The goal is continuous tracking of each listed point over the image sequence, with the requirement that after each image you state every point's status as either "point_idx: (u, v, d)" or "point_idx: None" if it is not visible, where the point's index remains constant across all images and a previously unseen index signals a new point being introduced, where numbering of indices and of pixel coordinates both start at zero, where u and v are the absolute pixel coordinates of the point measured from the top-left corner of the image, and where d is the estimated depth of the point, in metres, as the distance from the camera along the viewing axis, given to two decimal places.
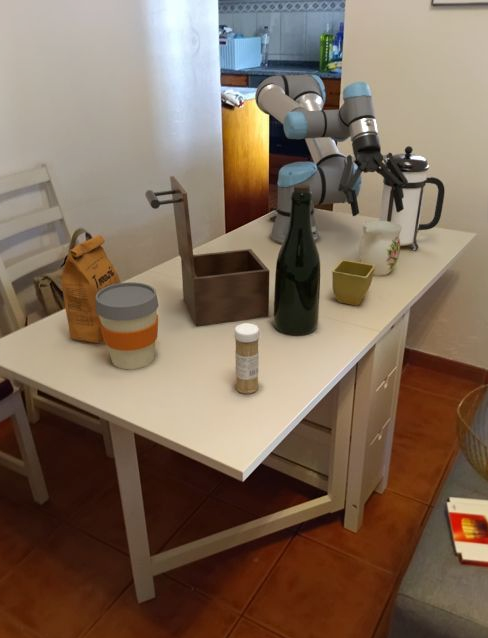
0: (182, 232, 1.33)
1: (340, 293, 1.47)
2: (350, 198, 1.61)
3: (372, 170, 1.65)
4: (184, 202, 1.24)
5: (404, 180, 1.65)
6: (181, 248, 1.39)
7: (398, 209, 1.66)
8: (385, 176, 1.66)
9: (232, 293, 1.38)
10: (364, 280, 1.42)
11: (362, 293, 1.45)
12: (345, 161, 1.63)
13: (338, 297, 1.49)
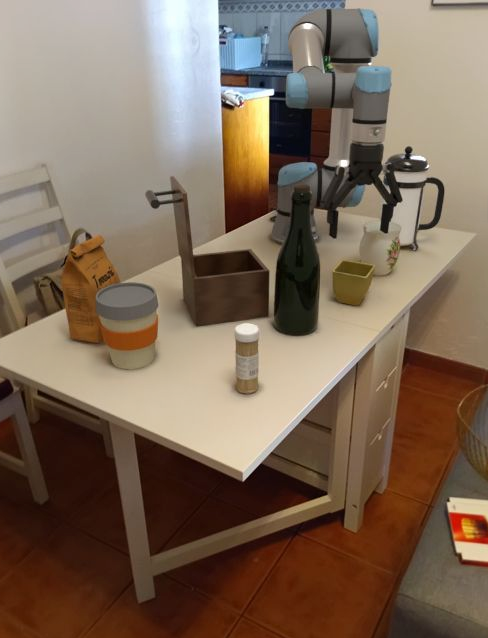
0: (182, 232, 1.33)
1: (340, 293, 1.47)
2: (331, 219, 1.38)
3: (365, 183, 1.37)
4: (184, 202, 1.24)
5: (398, 199, 1.40)
6: (181, 248, 1.39)
7: (382, 230, 1.44)
8: (378, 190, 1.39)
9: (232, 293, 1.38)
10: (364, 280, 1.42)
11: (362, 293, 1.45)
12: (336, 171, 1.34)
13: (338, 297, 1.49)
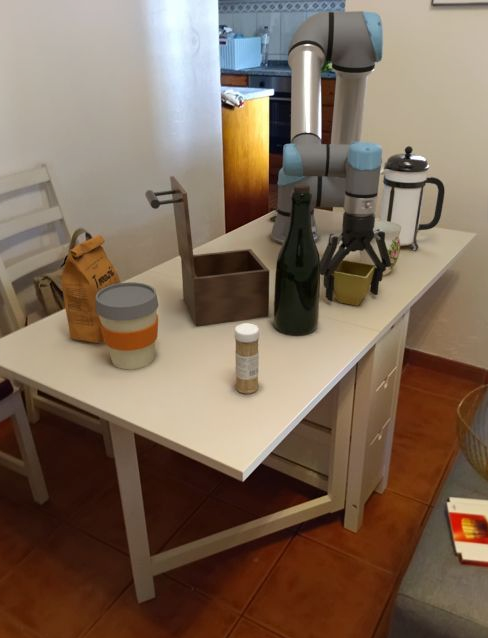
0: (182, 232, 1.33)
1: (340, 293, 1.47)
2: (327, 284, 1.46)
3: None
4: (184, 202, 1.24)
5: (387, 263, 1.48)
6: (181, 248, 1.39)
7: (372, 291, 1.52)
8: (369, 255, 1.47)
9: (232, 293, 1.38)
10: (364, 280, 1.42)
11: (362, 293, 1.45)
12: (330, 239, 1.41)
13: (338, 297, 1.49)
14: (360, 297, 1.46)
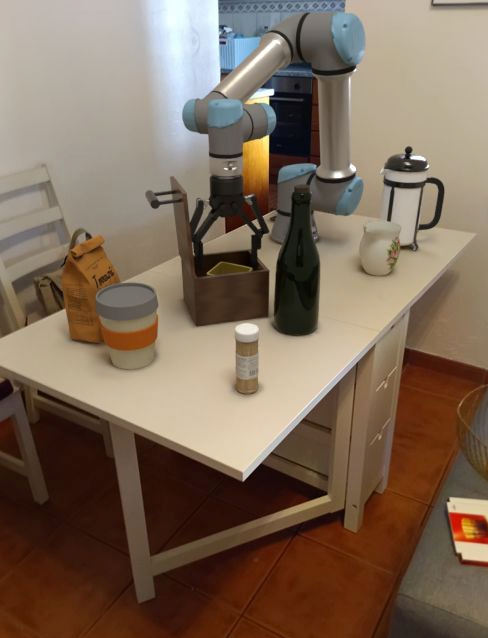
0: (182, 232, 1.33)
1: None
2: (196, 251, 1.37)
3: None
4: (184, 202, 1.24)
5: (265, 230, 1.39)
6: (181, 248, 1.39)
7: (252, 260, 1.44)
8: None
9: (232, 293, 1.38)
10: None
11: None
12: (196, 203, 1.33)
13: None
14: None
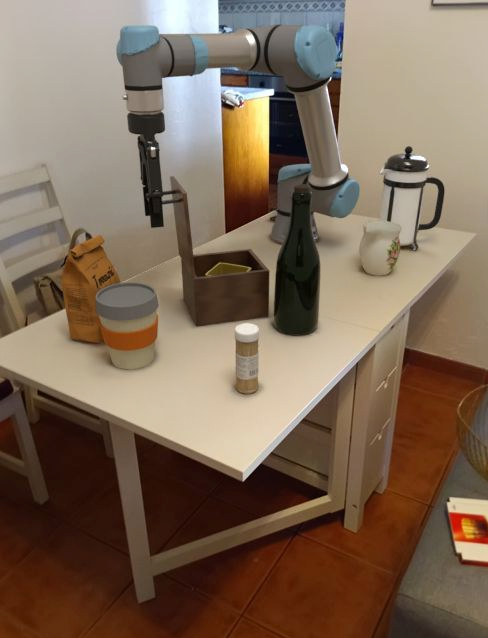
0: (182, 232, 1.33)
1: None
2: None
3: None
4: (184, 202, 1.24)
5: (150, 192, 1.22)
6: (181, 248, 1.39)
7: None
8: None
9: (232, 293, 1.38)
10: None
11: None
12: None
13: None
14: None
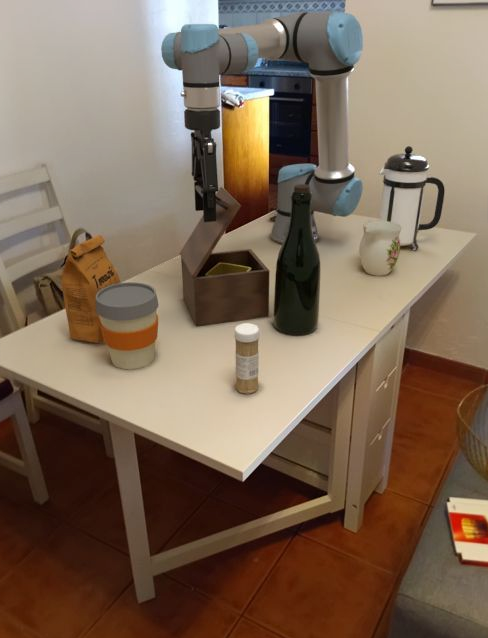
0: (206, 235, 1.35)
1: None
2: None
3: None
4: (233, 211, 1.28)
5: (205, 186, 1.24)
6: (190, 248, 1.40)
7: None
8: None
9: (232, 293, 1.38)
10: None
11: None
12: None
13: None
14: None
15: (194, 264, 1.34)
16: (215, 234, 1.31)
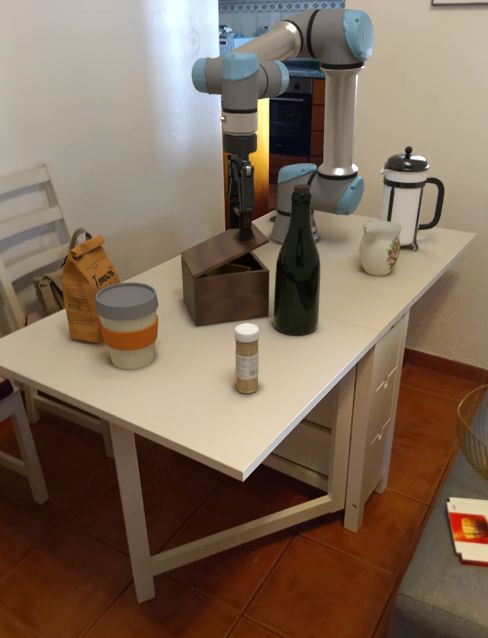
0: (220, 250, 1.38)
1: None
2: None
3: None
4: (261, 243, 1.34)
5: (243, 208, 1.29)
6: (196, 253, 1.41)
7: None
8: None
9: (232, 293, 1.38)
10: None
11: None
12: None
13: None
14: None
15: (198, 267, 1.35)
16: (233, 252, 1.34)
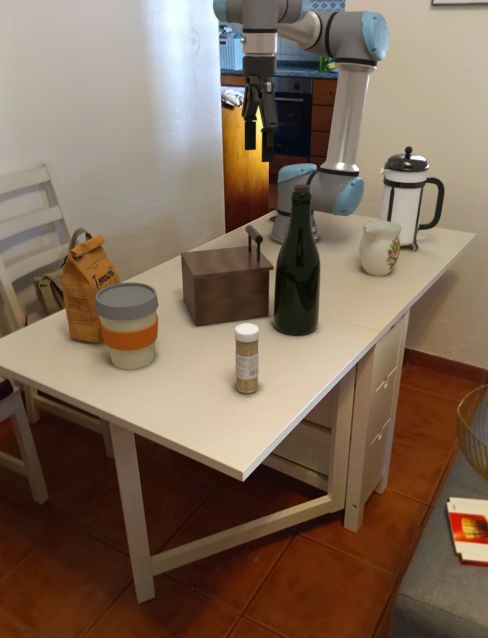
0: (224, 262, 1.40)
1: None
2: None
3: None
4: (265, 267, 1.37)
5: (266, 125, 1.28)
6: (198, 258, 1.42)
7: None
8: None
9: (232, 293, 1.38)
10: None
11: None
12: None
13: None
14: None
15: (200, 270, 1.35)
16: (236, 267, 1.36)
